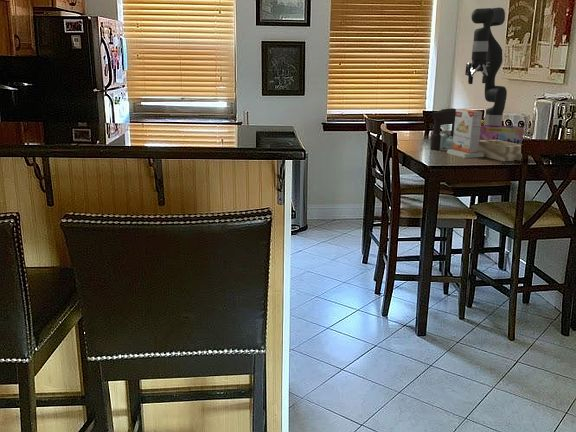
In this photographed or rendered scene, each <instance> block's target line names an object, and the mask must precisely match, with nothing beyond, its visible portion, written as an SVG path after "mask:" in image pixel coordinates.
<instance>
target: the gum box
mask: <svg viewBox="0 0 576 432" xmlns="http://www.w3.org/2000/svg"><path fill="white" fill-rule="evenodd" d="M524 133H525V129H524V127H523V126H517V125H515V126H513V125H501V126H494V125H484V124H481V129H480V138H479V140H501V141H506V142H511V143H516V144H521V140H522V141H523V137H524V135H525V134H524ZM521 145H522V144H521Z"/></svg>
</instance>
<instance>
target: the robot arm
mask: <svg viewBox="0 0 576 432" xmlns="http://www.w3.org/2000/svg"><path fill="white" fill-rule="evenodd" d="M470 17H471V22H472V23H474V24H482V26H483V27H479V28H476V29H475V30H474V32H473V43H472V50H471V61H472V62H466V64H465V74H464V75H465V76H468V81H467V83H468V85H473V81H474V74H476V73H477V72H480V73H481V74H482V79H481V80H482V81H481V84H484V100H485V101H487V102H488V103H494V104H493V106H491V107H489V108H486V109H485V117H484V124H483V125H494V126H502V121H503V113H504V111H505V107H506V100H507V95H508V93H507V91H508V90H507V88H506V87H505V86H503V85H502V86H501V85H496V75H497V73H498V72H499V70H500V68H501V66H502V64H503V59H504V58H503V48H502V47H501V45H500V44H499V42H498V41H497V39H496V38H495V37H494V35H493V32H492V30H491V28H492V27H495V26H497V27H498V26H501V25H503V24H504V23H505V21H506V12H505V9H504V8H503V7H494V8H493V7H492V8H491V7H489V8H488V7H487V8H486V7H485V8H482V7H481V8H475V9H474V10H473V11H472V13H471V16H470Z"/></svg>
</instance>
